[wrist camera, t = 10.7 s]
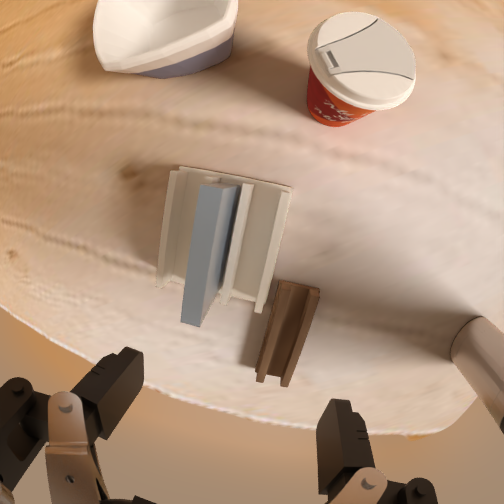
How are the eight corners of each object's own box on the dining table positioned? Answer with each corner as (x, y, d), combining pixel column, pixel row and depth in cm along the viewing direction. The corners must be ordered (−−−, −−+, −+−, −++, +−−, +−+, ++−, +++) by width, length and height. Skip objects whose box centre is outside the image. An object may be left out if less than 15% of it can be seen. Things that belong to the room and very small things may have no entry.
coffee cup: (313, 145, 30) (341, 119, 15) (285, 82, 28) (288, 16, 13) (377, 126, 28) (442, 95, 14) (349, 65, 26) (390, 2, 12)
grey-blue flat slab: (240, 185, 30) (223, 188, 21) (221, 285, 34) (199, 327, 24) (225, 182, 30) (200, 184, 21) (207, 282, 34) (180, 321, 24)
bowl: (132, 20, 26) (92, -14, 16) (237, -13, 24) (222, -63, 14) (139, 106, 30) (88, 85, 19) (259, 73, 28) (249, 28, 17)
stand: (319, 288, 34) (322, 297, 31) (289, 375, 37) (289, 387, 35) (279, 279, 34) (279, 288, 31) (255, 368, 38) (253, 381, 35)
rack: (292, 187, 31) (295, 189, 26) (265, 300, 35) (263, 318, 30) (183, 166, 31) (167, 164, 27) (167, 276, 35) (152, 289, 31)
